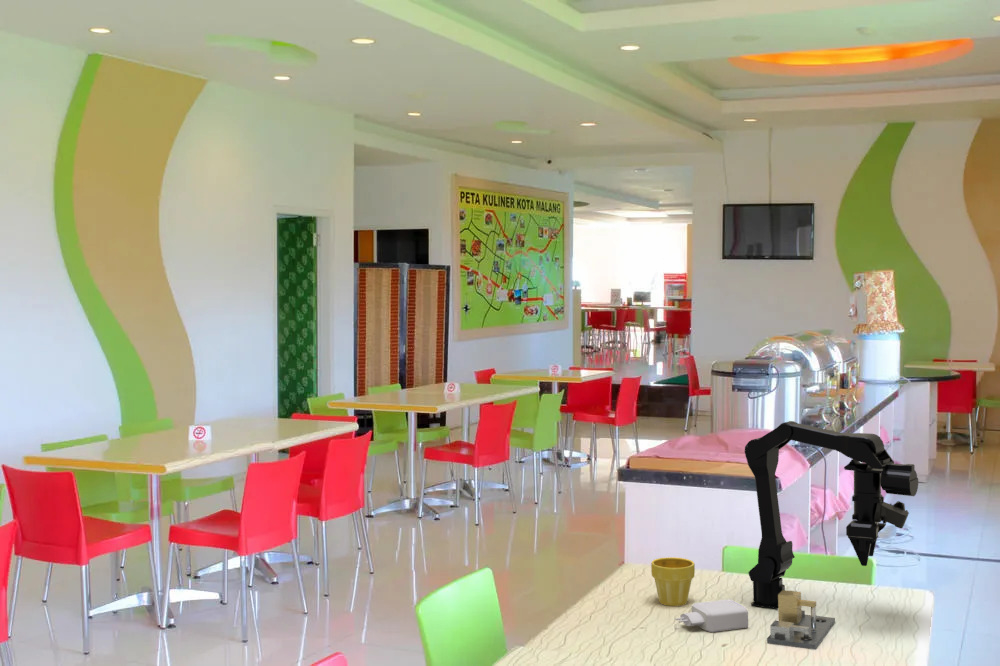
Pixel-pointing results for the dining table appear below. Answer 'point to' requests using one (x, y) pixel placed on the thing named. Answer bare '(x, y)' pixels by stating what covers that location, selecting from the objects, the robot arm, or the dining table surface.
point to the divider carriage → (794, 607)
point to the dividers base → (800, 632)
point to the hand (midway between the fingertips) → (867, 560)
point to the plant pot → (673, 579)
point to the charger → (716, 616)
